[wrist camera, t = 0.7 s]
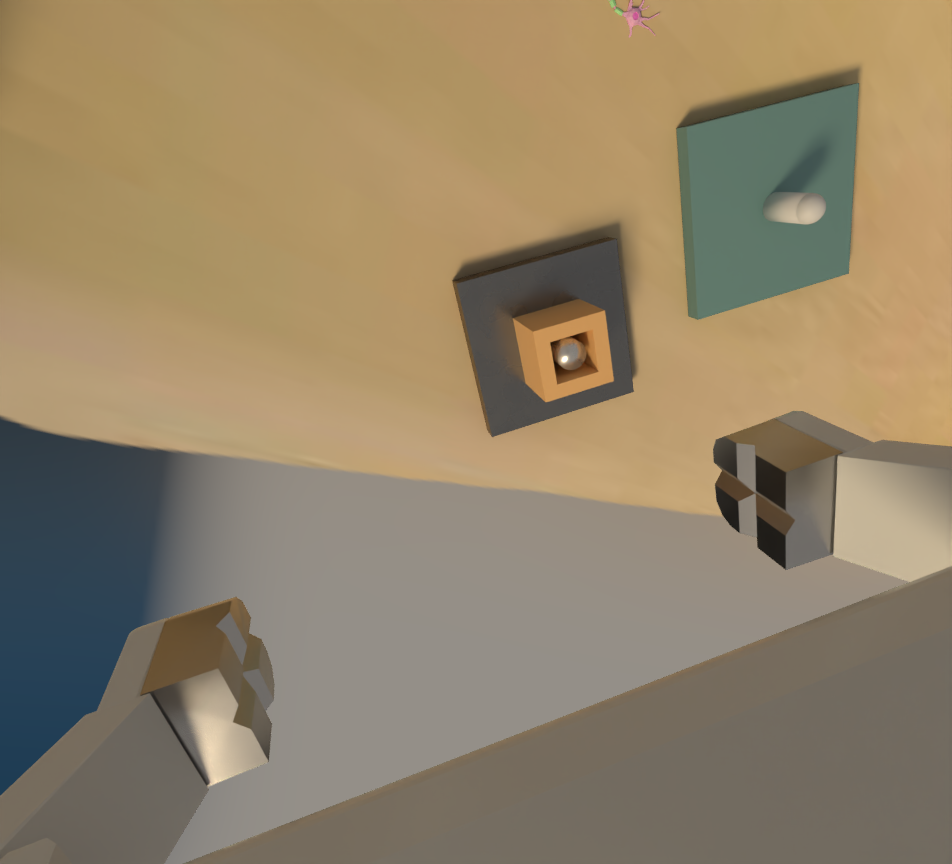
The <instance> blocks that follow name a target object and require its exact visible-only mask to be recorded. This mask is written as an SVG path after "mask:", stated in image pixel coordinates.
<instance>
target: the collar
mask: <svg viewBox="0 0 952 864" xmlns="http://www.w3.org/2000/svg"><path fill="white" fill-rule="evenodd" d="M513 322H514V327H515V332H516V337H517V342H518V347H519V352H520V357H521V362H522V367H523V373H524V378H525V383H526V384H527V385H528V386H529V387H530V388H531V389H532V390H533V391H534V392H535V393H536V394H537V395H538V396H539V397H540V398H542V399H543V400H544V401H545V402H549V401H552V400H556V399H559V398H562V397H565V396H568V395H571V394H575V393H578V392H581V391H584V390H587V389H590V388H594V387H597V386H600V385H603V384H606V383H609V382H613V381H614V378H613V370H612V362H611V354H610V346H609V338H608V330H607V322H606V314H605V310H603V309H601V308H598V307H596V306H594V305H592V304H590V303H587V302H585V301H583V300H581V299H576V300H573V301H570V302H566V303H563V304H559V305H556V306H552V307H549V308H546V309H542V310H539V311H535V312H532V313H528V314H525V315H522V316H518V317H515V318H513ZM569 336H571V337H572V338H574V339H575V340H577V341H579V342H580V343H582V344H583V345H584V347H585V349H586V359H585V361H584V363H583V364H582V365H581V366H580V367H579V368H577V369H575V370H566V369H564V368H563V367H561V366H560V365H559V364H557V363H556V362H555V361H554V362H553V357H552V351H551V345H550V342H553V341H556V340H559V339H563V338H566V337H569Z"/></svg>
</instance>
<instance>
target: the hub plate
mask: <svg viewBox="0 0 952 864" xmlns="http://www.w3.org/2000/svg"><path fill="white" fill-rule="evenodd" d="M858 91H859V83H857V84H851V85H845V86H841V87H837V88H833V89H829V90H825V91H821V92H817V93H813V94H809V95H806V96H802V97H798V98H794V99H790V100H786V101H782V102H778V103H774V104H770V105H766V106H763V107H759V108H755V109H751V110H747V111H743V112H739V113H735V114H731V115H727V116H723V117H719V118H716V119H712V120H708V121H704V122H700V123H696V124H692V125H688V126H684V127H680V128H676V129H677V145H678V160H679V176H680V191H681V207H682V222H683V238H684V253H685V269H686V284H687V300H688V315H689V317H692V318H695V319H697V320H698V319H702V318H705V317H708V316H711V315H715V314H718V313H721V312H725V311H728V310H731V309H734V308H738V307H741V306H744V305H747V304H751V303H754V302H757V301H760V300H764V299H767V298H770V297H773V296H777V295H780V294H783V293H787V292H790V291H793V290H796V289H800V288H803V287H806V286H809V285H813V284H816V283H819V282H822V281H826V280H829V279H832V278H835V277H839V276H842V275H845V274H849V259H850V240H851V221H852V203H853V184H854V166H855V147H856V128H857V110H858Z"/></svg>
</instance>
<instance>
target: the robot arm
mask: <svg viewBox="0 0 952 864" xmlns="http://www.w3.org/2000/svg"><path fill="white" fill-rule="evenodd" d="M713 456H714V463H715V464H716V465H717V466H718V467H719V468H720V469H721V470H722V472H721V474H720V476H719V478H718V480H717V481H716V483H715V490H716V500H717V503H718V506H719V508H720V510H721V513H722V515H723V517H724V518H725V519H726V520H727V522H728V523H729V525H730V526H731V527H733V528H734V529H735V530H736V531H738V532H739V533H740V534H745V535H749V536H752V537H756V538H757V547H758V548H759V549H760V550H761V551H762V552H764V553H765V554H766V555H767V556H769V557H770V558H771V559H773V560H774V561H775V562H776V563H778V564H779V565H780V566H782V567H783V568H784V569H785V570H787V569H790V568H793V567H796V566H799V565H802V564H805V563H808V562H811V561H814V560H817V559H820V558H823V557H826V556H829V555H832V554H833V556H834V557H837V558H840V559H843V560H846V561H849V562H852V563H854V564H857V565H860V566H863V567H867V568H869V569H872V570H876V571H878V572H881V573H884V574H887V575H890V576H893V577H896V578H899V579H903V580H906V581H908V582H909V583H906V584H903V585H901V586H898V587H896V588H893V589H891V590H888V591H885V592H883V593H880V594H878V595H875V596H872V597H870V598H867V599H865V600H862V601H859V602H857V603H854V604H852V605H849V606H847V607H844V608H842V609H839V610H836V611H834V612H831V613H829V614H826V615H823V616H821V617H818V618H815V619H813V620H810V621H808V622H805V623H803V624H800V625H797V626H795V627H792V628H790V629H787V630H784V631H782V632H779V633H777V634H774V635H772V636H769V637H767V638H764V639H761V640H759V641H756V642H754V643H751V644H748V645H746V646H743V647H741V648H738V649H735V650H733V651H730V652H728V653H725V654H723V655H720V656H717V657H715V658H712V659H710V660H707V661H704V662H702V663H700V664H697V665H694V666H692V667H689V668H686V669H684V670H681V671H679V672H676V673H674V674H671V675H668V676H666V677H663V678H661V679H658V680H656V681H653V682H651V683H648V684H645V685H643V686H641V687H638V688H635V689H633V690H630V691H627V692H625V693H623V694H620V695H617V696H615V697H612V698H609V699H607V700H604V701H602V702H599V703H597V704H594V705H592V706H589V707H586V708H584V709H581V710H579V711H576V712H574V713H571V714H569V715H566V716H563V717H561V718H558V719H555V720H553V721H550V722H548V723H545V724H543V725H540V726H537V727H535V728H532V729H530V730H527V731H524V732H522V733H519V734H517V735H514V736H512V737H509V738H506V739H504V740H501V741H499V742H496V743H494V744H491V745H488V746H486V747H484V748H481V749H478V750H476V751H473V752H470V753H468V754H465V755H463V756H460V757H457V758H455V759H452V760H450V761H447V762H445V763H442V764H439V765H437V766H434V767H432V768H429V769H426V770H424V771H421V772H419V773H416V774H413V775H411V776H409V777H406V778H403V779H401V780H398V781H396V782H393V783H390V784H388V785H385V786H383V787H380V788H377V789H375V790H372V791H370V792H367V793H364V794H362V795H359V796H357V797H354V798H352V799H349V800H346V801H344V802H341V803H339V804H336V805H334V806H331V807H328V808H326V809H323V810H321V811H318V812H315V813H313V814H310V815H308V816H305V817H303V818H300V819H298V820H295V821H292V822H290V823H287V824H285V825H282V826H279V827H277V828H274V829H272V830H269V831H267V832H264V833H261V834H259V835H256V836H254V837H251V838H248V839H246V840H243V841H241V842H238V843H236V844H233V845H230V846H228V847H225V848H222V849H220V850H217V851H215V852H212V853H210V854H207V855H204V856H202V857H199V858H197V859H194V860H192V861H189V862H186V863H184V864H952V447H951V446H940V445H930V444H919V443H909V442H898V441H888V440H881V441H878V442H875V443H874V442H871V441H869V440H867V439H864V438H862V437H860V436H858V435H855V434H853V433H851V432H849V431H846V430H844V429H842V428H840V427H837V426H835V425H833V424H831V423H828V422H826V421H824V420H821V419H819V418H817V417H815V416H812V415H810V414H808V413H806V412H803V411H792V412H790V413H787V414H784V415H782V416H779V417H776V418H774V419H771V420H768V421H766V422H763V423H761V424H758V425H755V426H752V427H750V428H747V429H744V430H741V431H738V432H736V433H733V434H730V435H727V436H724V437H722V438H719V439H716V441H715V445H714V448H713ZM250 620H251V617H250V615H249V613H248V611H247V609H246V607H245V605H244V604H243V602H242V601H241V600H240V599H238V598H237V597H234V598H231V599H227V600H224V601H221V602H218V603H215V604H211V605H208V606H205V607H202V608H198V609H195V610H192V611H189V612H186V613H182V614H179V615H176V616H172V617H170V618H165V619H163V620H159V621H156V622H153V623H150V624H148V625H145V626H142V627H139V628H137V629H135V630H133V631H132V632H130V634H129V636H128V638H127V641H126V643H125V645H124V648H123V650H122V652H121V655H120V657H119V660H118V662H117V664H116V667H115V669H114V672H113V674H112V676H111V679H110V681H109V684H108V686H107V688H106V691H105V693H104V695H103V698H102V700H101V703H100V705H99V707H98V710H97V711H96V712H93V713H90V714H88V715H85V716H84V717H83V718H82V719H81V720H80V721H79V722H78V723H77V724H76V725H75V726H74V727H72V728H71V729H70V730H69V731H68V732H67V733H66V734H65V735H64V736H63V737H62V738H61V739H60V740H59V741H58V742H57V743H56V744H55V745H54V746H52V748H50V749H49V750H48V751H47V752H46V753H45V754H44V755H43V756H42V757H41V758H40V759H39V760H38V761H37V762H36V763H35V764H34V765H33V766H31V767H30V768H29V769H28V770H27V771H26V772H25V773H24V774H23V775H22V776H21V777H20V778H19V779H18V780H17V781H16V782H15V783H14V784H12V785H11V786H10V787H9V788H8V789H7V790H6V791H5V792H4V793H3V794H2V795H1V796H0V864H164V863H165V861H166V860H167V858H168V856H169V855H170V853H171V851H172V850H173V848H174V846H175V845H176V843H177V841H178V840H179V838H180V836H181V835H182V833H183V832H184V830H185V828H186V827H187V825H188V823H189V822H190V820H191V818H192V817H193V815H194V813H195V812H196V810H197V808H198V807H199V805H200V804H201V802H202V800H203V799H204V797H205V795H206V794H207V792H208V790H209V789H208V786H211V785H213V784H215V783H218V782H221V781H223V780H226V779H228V778H231V777H233V776H236V775H238V774H240V773H243V772H245V771H248V770H250V769H253V768H255V767H258V766H260V765H263V764H265V763H268V762H269V753H270V741H271V728H272V723H271V721H270V719H269V717H268V715H267V713H266V710H267V708H268V707H269V705H270V704H271V703H272V702H273V700H274V678H273V671H272V665H271V662H270V659H269V656H268V653H267V650H266V648H265V646H264V644H263V642H262V640H261V639H260V638H257V637H256V636H253V635H251V634H249V628H250Z"/></svg>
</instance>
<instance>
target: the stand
mask: <svg viewBox="0 0 952 864" xmlns="http://www.w3.org/2000/svg"><path fill="white" fill-rule="evenodd" d="M453 286H454V290H455V294H456V298H457V303H458V307H459V311H460V316H461V320H462V324H463V328H464V333H465V337H466V341H467V345H468V350H469V354H470V358H471V362H472V367H473V371H474V375H475V379H476V384H477V388H478V392H479V396H480V401H481V405H482V409H483V413H484V418H485V422H486V426H487V430H488V432H489V433H490V435H491V436H492V437H494V436H497V435H500V434H503V433H506V432H509V431H512V430H515V429H519V428H522V427H525V426H528V425H531V424H534V423H537V422H540V421H544V420H547V419H550V418H553V417H556V416H559V415H562V414H566V413H569V412H572V411H575V410H578V409H581V408H584V407H587V406H591V405H594V404H597V403H600V402H603V401H606V400H609V399H612V398H616V397H619V396H622V395H625V394H628V393H631V392H634V391H633V382H632V373H631V364H630V355H629V346H628V337H627V328H626V319H625V310H624V301H623V292H622V283H621V274H620V265H619V256H618V247H617V239H614V238H609V237H608V238H604V239H601V240H597V241H593V242H590V243H586V244H583V245H579V246H575V247H572V248H568V249H565V250H561V251H558V252H554V253H550V254H547V255H543V256H540V257H536V258H532V259H529V260H525V261H522V262H518V263H514V264H511V265H507V266H504V267H500V268H497V269H493V270H489V271H486V272H482V273H479V274H475V275H471V276H468V277H464V278H461V279H457V280H453ZM576 299H581V300H583V301H585V302H587V303H590V304H592V305H594V306H596V307H598V308H601V309H603V310H605V314H606V322H607V330H608V338H609V346H610V354H611V362H612V370H613V378H614V381H613V382H609V383H606V384H603V385H600V386H597V387H594V388H590V389H587V390H584V391H581V392H578V393H575V394H571V395H568V396H565V397H562V398H559V399H556V400H552V401H549V402H545V401H544V400H543V399H542V398H540V397H539V396H538V395H537V394H536V393H535V392H534V391H533V390H532V389H531V388H530V387H529V386H528V385H527V384H526V383H525V378H524V373H523V367H522V362H521V357H520V352H519V347H518V342H517V337H516V332H515V327H514V322H513V318H515V317H518V316H522V315H525V314H528V313H532V312H535V311H539V310H542V309H546V308H549V307H552V306H556V305H559V304H563V303H566V302H570V301H573V300H576ZM550 345H551V351H552V357H553V362H554V361H555V362H556V363H557V364H559V365H560V366H561V367H563V368H564V369H566V370H575V369H577V368H579V367H580V366H581V365H582V364H583V363H584V361H585V359H586V349H585V347H584V345H583V344H582V343H580V342H579V341H577V340H575V339H574V338H572V337H571V336H569V337H566V338H563V339H559V340H556V341H553V342H550Z"/></svg>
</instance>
